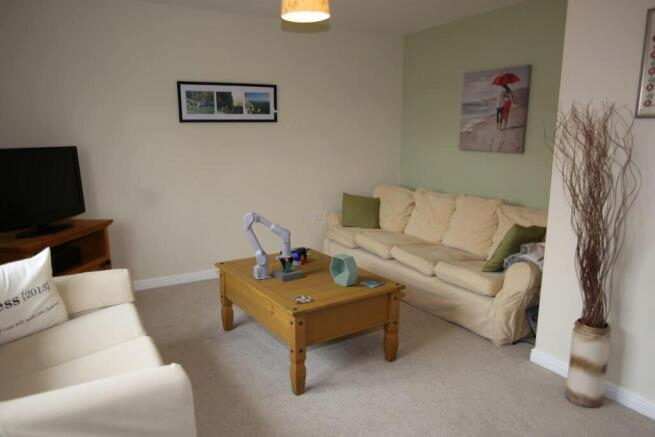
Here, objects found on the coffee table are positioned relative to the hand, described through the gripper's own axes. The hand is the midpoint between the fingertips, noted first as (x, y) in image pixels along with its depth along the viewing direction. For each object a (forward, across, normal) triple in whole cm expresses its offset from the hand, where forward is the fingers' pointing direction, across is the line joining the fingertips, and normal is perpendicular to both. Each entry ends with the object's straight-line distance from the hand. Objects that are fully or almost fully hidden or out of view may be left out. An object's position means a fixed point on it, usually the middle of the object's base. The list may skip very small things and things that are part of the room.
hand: (287, 268), depth 305 cm
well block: (+6, 0, 0) cm, 6 cm away
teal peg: (+2, 0, 0) cm, 3 cm away
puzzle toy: (+6, +21, +25) cm, 33 cm away
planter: (+6, +23, -32) cm, 40 cm away
